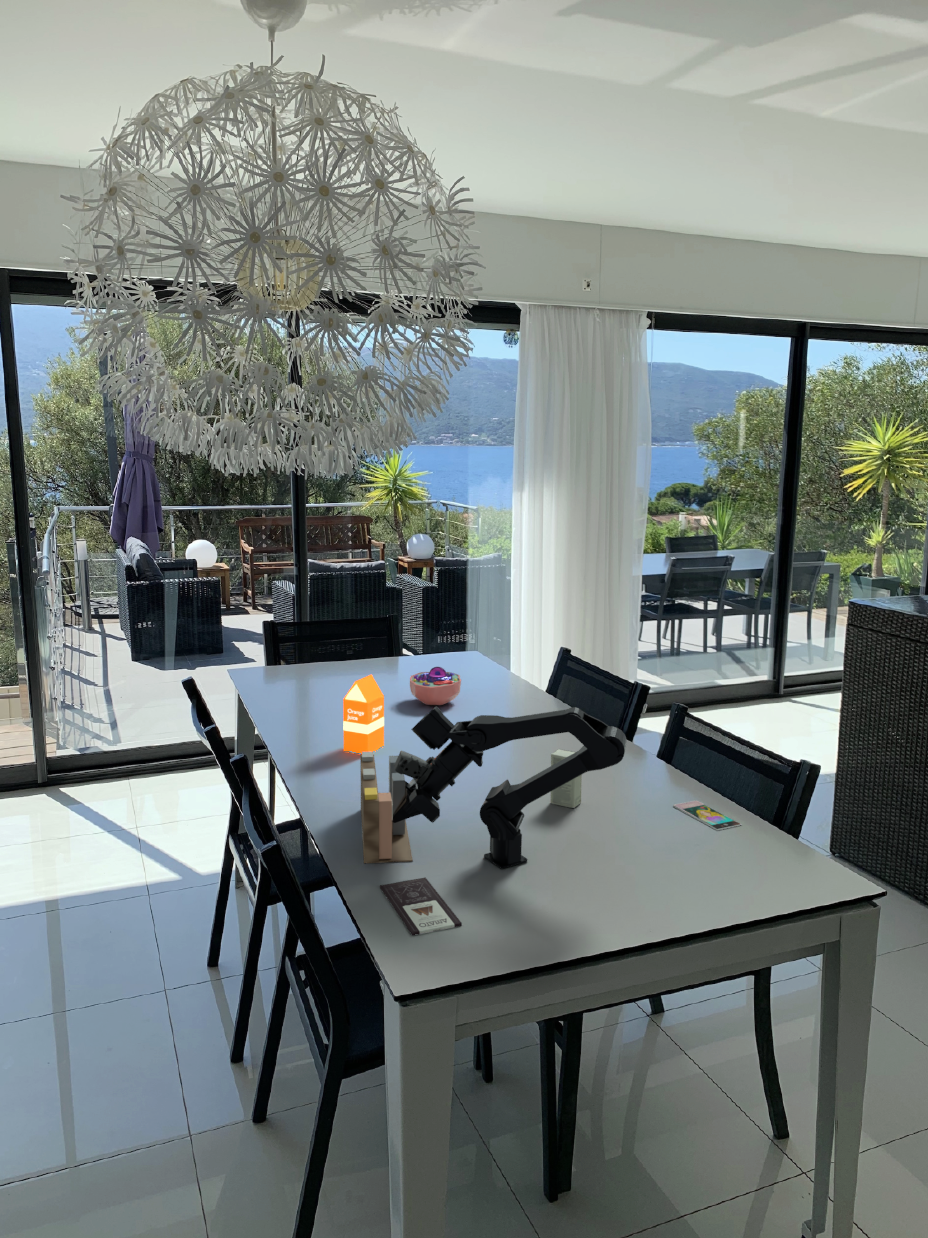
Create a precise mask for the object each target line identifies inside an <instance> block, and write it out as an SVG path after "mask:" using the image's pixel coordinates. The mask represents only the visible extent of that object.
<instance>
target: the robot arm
mask: <svg viewBox="0 0 928 1238" xmlns="http://www.w3.org/2000/svg"><path fill="white" fill-rule="evenodd" d="M410 731H412V732H413V733H414V734H415V735H416V736H417V737H418V738H419V739H420V740H421V741H422V742H423V743H424V744H425V745H426V746H427V748H429V749H430V750H434V751H435V749H437V750H440V749H442V747H443V746H444V745H445V744H446V743H448V741H449V740H451V741H450V742H449V743H448V745H446V746H445V747H444V749H442V750H441V751H440V752H439V753H438V755H436V756H435V757H434V756H429V757H428V758H427V759H426V760H425V759H423V758H421V757H420V756H417V755H414V754H411V753H409V752H406V751H404V750H401V751H400V752H399V754H398V755H397V756H398V758H397V760H396V762H395V764H394V766H395V771H396V772H397V773H399V774H404V776H407V777H409V778H412V780H411V781H409V782H407V781H406V780H405V794H404V796H403V798H402V800H401V802H400V803H399V805H398V807H397V808H396V810H395V812H394V814H393V820H392V822H393V823H397V822H399V821H402V820H407V819H410V818H413V817H416V816H420V815H423V816H424V817H425V818H426V819H427V820H428V821H429V822H430V823H432V824H434V823H435V822H436V821H437V820H438V819H439V818H440V816H441V810H440V809H441V808H440V805H439V802H438V801H439V800H440V799H441V798H442V797H441V793H443V792H444V790H445V789H446V788H447V787H448V786H450V787H453V786H454V785H455V784H456V781H455V779H456V778H458V776H460V774H461V773H463V771H465V769H466V768H468V766H470V765H471V763H472V762H474V763H475V764H476V766H477V767H480V768H481V767H483V763H484V761H483V756H484V752H485V751H487V750H491V749H494V748H497V747H499V746H501V745H503V744H506V743H508V742H510V741H511V742H512V741H516V740H522V739H530V738H534V737H535V738H537V737H543V736H544V737H545V736H550V735H559V734H564V733H569V734H570V735H572V736H573V737H574V738H576V740H578V741H579V742H580V743H581V744H582V745H583V746H582V747H580V748H579V749H578V750H577V751H574V752H575V753H574V754H572V755H570V756H568V757H566V758H565V759H563V760H561V761H559V762H558V763H556V764H554V765H552V766H551V765H550V766H549V767H546V768H545V769H543V770H542V771H539V772H538V773H536V774H534V775H533V776H531V777H529V778H528V779H525V780H524V781H522V782H520V783H517V784H511V783H510V781H509V779H506V780H504V781H503V782H502V783H501V784H500V785H497V786H492V787H491V788H490V790H489V792H488V793H487V795H486V797H485V799H484V802H482V805H481V807H480V809H479V817H480V819H481V822H482V823H483V824H484V825H485V826H486V827H487V830H488V834H489V852H488V853H484V854H483V858H485V859H486V860H487V861H489V862H491V864H493V865H495V866H496V867H498V868H500V869H506V868H510V867H514V866H517V865H520V864H524V863H527V862H528V858H527V857H526V856H523V855H522V848H523V847H522V841H523V840H522V839H523V834H522V832H521V829H520V827H521V825H522V822H523V821H524V818H525V814H524V812H523V811H522V810H523V809H524V808H525V807H526V806H527V805H530V804H531V803H533V802H535V801H536V800H538V799H540V798H542V797H543V796H545V795H548V794H549V793H551V791H553V790H555V789H556V788H558V787H560V786H562V785H564V784H565V783H567V782H569V781H571V780H573V779H574V778H576V777H578V776H580V775H583V774H585V773H588V772H594V771H601V770H603V769H607V768H610V767H613V766H615V765H618V764H619V763H620V762H621V761H622V760H623V759H624V756H625V752H626V748H627V743H628V742H627V737H626V734H625V733H624V731H623V730H621V729H620V728H618V727H617V726H616V727H615V726H612V725H611V726H610V725H608V724H606V723H605V722H603V721H602V720H601V719H599V718H596V717H594V716H591V715H590V714H588V713H586V712H585V711H583V710H582V709H581V708H579V707H576V706H575V707H569V708H567V709H561V710H556V711H555V710H554V711H548V712H541V713H534V714H533V713H532V714H528V715H521V716H520V715H519V716H513V717H509V716H508V717H507V716H506V717H505V716H501V715H495V714H494V715H492V714H491V715H489V714H487V715H483V714H481V715H478V716H475V717H474V718H473V719H472V720H465V721H464V720H463V721H462V720H461V721H457V722H455V724H454V723H453V722H451V720H450V719H449V718H448V717H447V716H445V714H444V713H443V712H442V710H441V709H440V708H439V707H438V706H434V707H433V708H432V709H431V711H429V713H426V714H425V715H424V716H423V717H422V718H421V719H420V720H419V721H418V722H417V723H416V724H414V726H413V727H412V728H411V730H410Z"/></svg>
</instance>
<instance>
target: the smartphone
mask: <svg viewBox="0 0 928 1238" xmlns="http://www.w3.org/2000/svg"><path fill="white" fill-rule="evenodd" d="M672 806H673V808H674V809H676V810H678V811H680V812H682V813H683V814H686V815H687V816H689V817H691V818H693V819H695V820H697V821H699V822H700V823H701V824H704V825H705V826H707V827H709V826H710V827H709V828H711V829H713V830H714V831H716V832H717V831H719V832H720V831H723V829H724V830H728V829H732V828H731V827H733V828H735V827H734V826H737V827H740V825H741V826H742V823H740V822H738V821H736V820H734V819H732V817H729V816H727V815H725V814H723V813H721V812H719V811H718V810H716V809H713V807H710V806H708V805H706V804H705V803H703V802H700V801H698V800H691V801H685V802H681V803H676V804H675V803H674V804H673V805H672ZM727 828H728V829H727Z"/></svg>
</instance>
